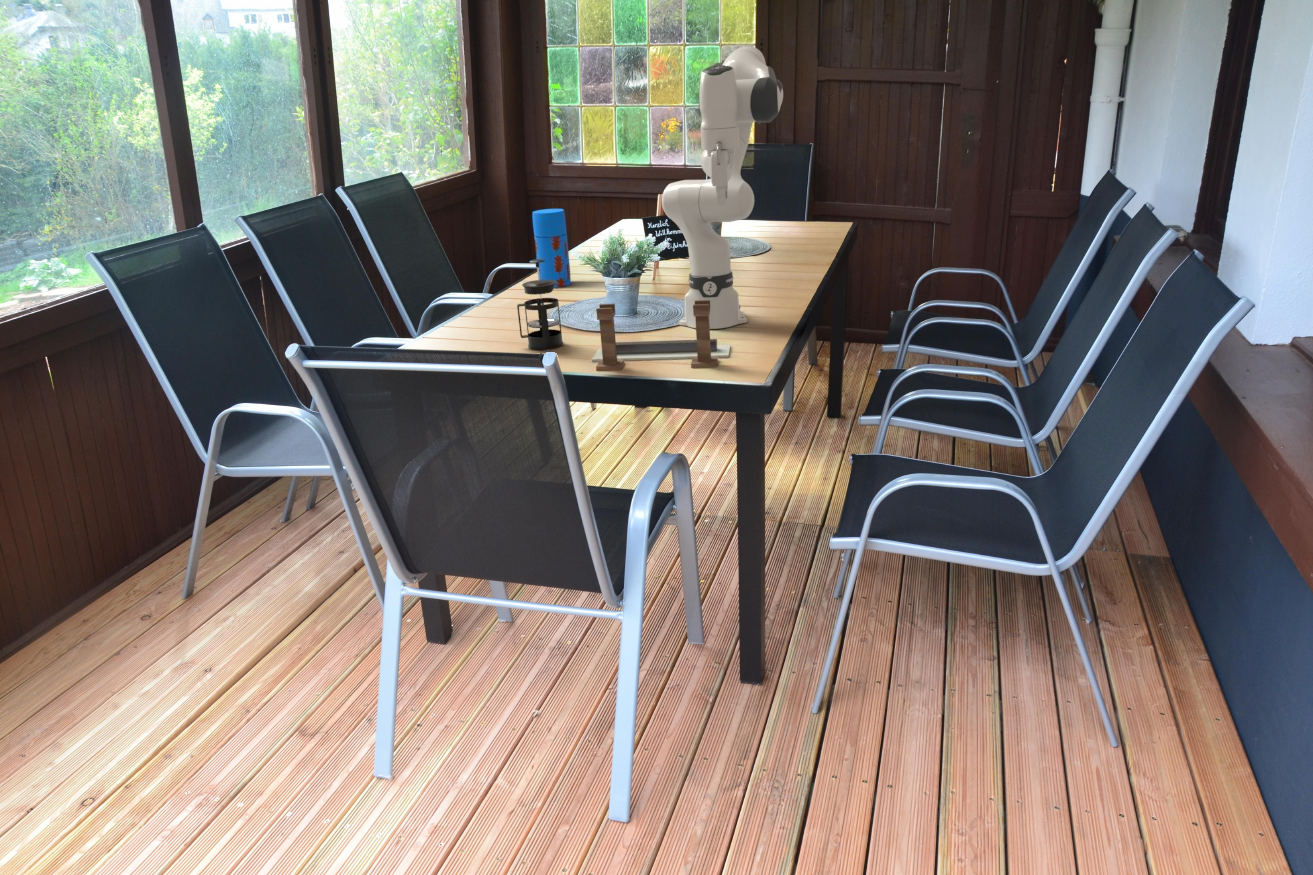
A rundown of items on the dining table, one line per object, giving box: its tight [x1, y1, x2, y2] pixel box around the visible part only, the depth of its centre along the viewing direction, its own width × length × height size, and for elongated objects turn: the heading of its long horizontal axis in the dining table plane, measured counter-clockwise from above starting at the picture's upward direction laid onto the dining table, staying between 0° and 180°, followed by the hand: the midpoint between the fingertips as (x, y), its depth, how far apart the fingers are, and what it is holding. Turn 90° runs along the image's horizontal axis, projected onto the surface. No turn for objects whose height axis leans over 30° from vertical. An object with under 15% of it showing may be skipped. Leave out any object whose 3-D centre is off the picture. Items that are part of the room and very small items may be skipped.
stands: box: [595, 300, 719, 371], centre depth 244 cm, size 6×29×15 cm, turn 83°
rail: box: [616, 338, 718, 354], centre depth 256 cm, size 2×28×2 cm, turn 83°
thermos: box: [532, 208, 572, 289], centre depth 344 cm, size 11×11×25 cm
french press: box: [516, 258, 564, 351], centre depth 268 cm, size 12×9×23 cm
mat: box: [591, 344, 731, 363], centre depth 256 cm, size 10×34×1 cm, turn 83°
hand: (722, 201), depth 239 cm, fingers open, 8 cm apart
